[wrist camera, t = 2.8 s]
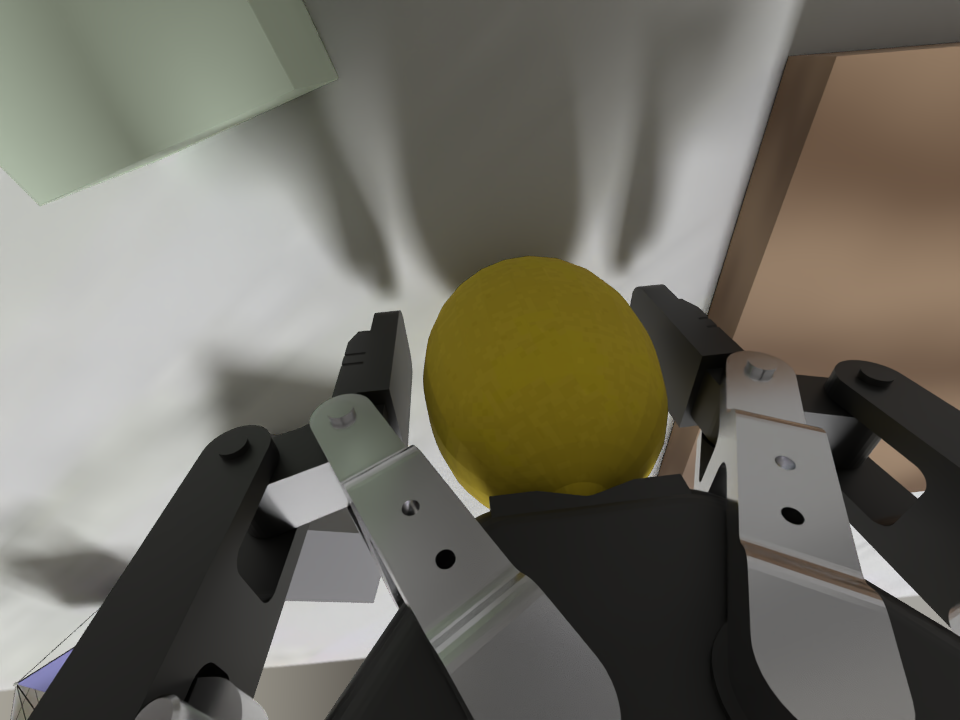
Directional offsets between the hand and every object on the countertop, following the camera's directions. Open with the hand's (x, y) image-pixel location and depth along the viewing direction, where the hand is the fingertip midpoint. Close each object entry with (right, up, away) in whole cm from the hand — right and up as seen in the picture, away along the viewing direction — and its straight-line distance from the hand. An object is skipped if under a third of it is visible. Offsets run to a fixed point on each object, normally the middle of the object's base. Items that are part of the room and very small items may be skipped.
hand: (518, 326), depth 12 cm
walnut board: (+14, 0, +3) cm, 14 cm away
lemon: (0, +1, +1) cm, 2 cm away
